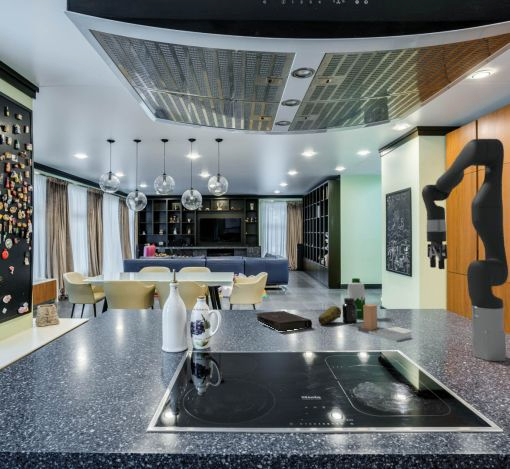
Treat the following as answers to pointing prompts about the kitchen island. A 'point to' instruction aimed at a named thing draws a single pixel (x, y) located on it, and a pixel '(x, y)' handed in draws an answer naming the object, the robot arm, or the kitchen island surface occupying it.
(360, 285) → the green and white bottle
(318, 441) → the kitchen island surface
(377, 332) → the grey slotted base
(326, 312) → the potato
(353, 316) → the supplement bottle
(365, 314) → the block
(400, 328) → the pad
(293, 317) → the diary
